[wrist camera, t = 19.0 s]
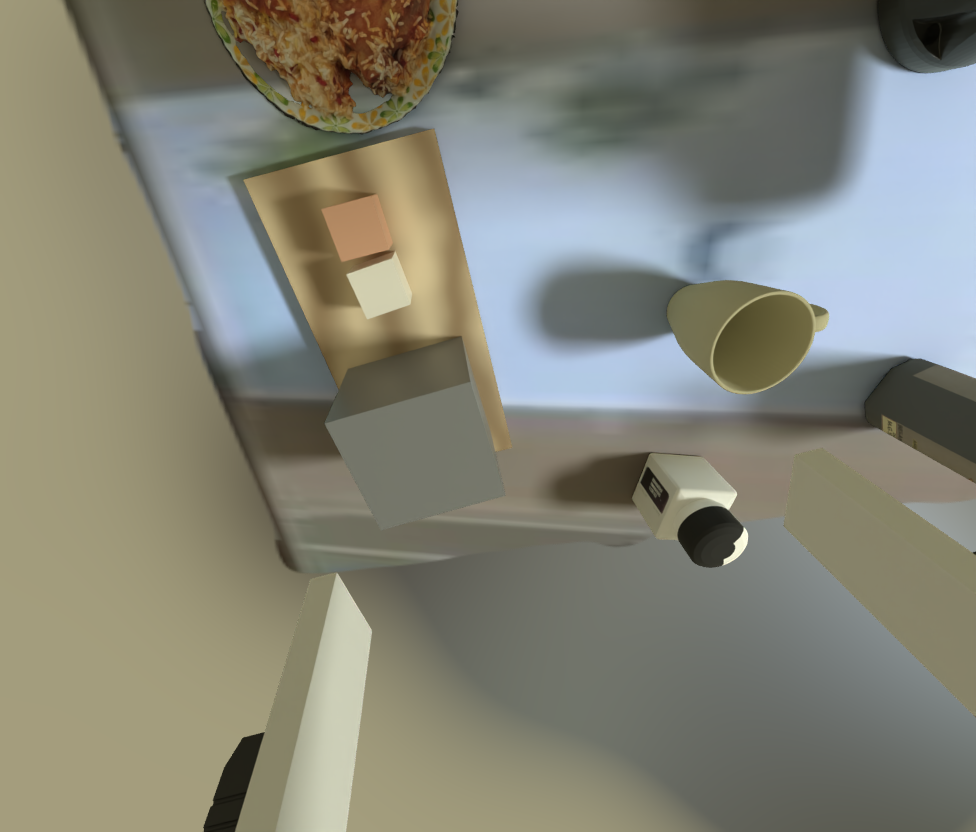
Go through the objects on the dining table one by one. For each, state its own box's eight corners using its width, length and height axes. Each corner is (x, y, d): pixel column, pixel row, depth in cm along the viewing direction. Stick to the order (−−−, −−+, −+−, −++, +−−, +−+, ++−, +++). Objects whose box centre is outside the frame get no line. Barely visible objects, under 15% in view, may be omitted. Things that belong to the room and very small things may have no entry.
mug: (684, 367, 50) (751, 418, 40) (630, 314, 46) (689, 354, 36) (764, 292, 47) (860, 326, 36) (713, 228, 43) (805, 245, 32)
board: (434, 130, 36) (434, 128, 35) (510, 440, 52) (512, 447, 51) (249, 179, 36) (243, 179, 35) (381, 473, 52) (380, 481, 51)
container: (630, 498, 59) (677, 575, 48) (649, 451, 55) (705, 522, 44) (681, 501, 60) (739, 577, 49) (703, 455, 57) (770, 525, 45)
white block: (395, 251, 39) (391, 258, 36) (412, 293, 41) (410, 304, 37) (353, 265, 39) (346, 274, 36) (372, 307, 41) (367, 319, 38)
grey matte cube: (461, 336, 44) (470, 381, 34) (491, 433, 49) (505, 495, 40) (347, 368, 44) (324, 423, 34) (390, 461, 50) (380, 530, 40)
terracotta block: (377, 193, 37) (371, 195, 33) (392, 242, 39) (389, 249, 35) (331, 205, 37) (321, 209, 33) (349, 254, 39) (341, 262, 35)
